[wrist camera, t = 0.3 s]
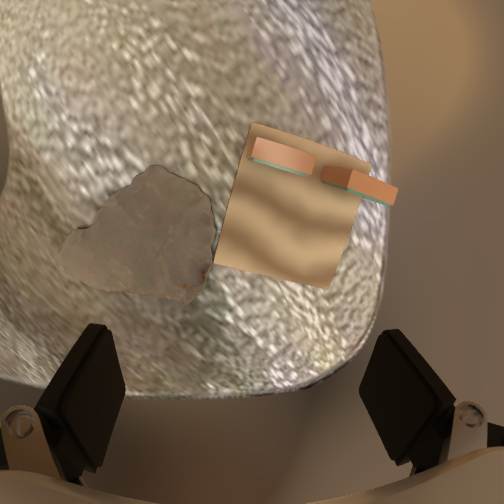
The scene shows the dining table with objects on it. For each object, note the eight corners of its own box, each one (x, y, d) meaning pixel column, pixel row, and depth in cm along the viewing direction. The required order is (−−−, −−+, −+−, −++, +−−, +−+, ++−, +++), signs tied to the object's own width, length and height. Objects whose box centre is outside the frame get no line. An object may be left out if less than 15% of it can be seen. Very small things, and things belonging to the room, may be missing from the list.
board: (251, 123, 34) (252, 122, 33) (368, 164, 36) (371, 164, 35) (213, 260, 39) (213, 263, 38) (326, 286, 42) (328, 289, 41)
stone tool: (203, 155, 36) (48, 197, 34) (202, 153, 33) (36, 200, 31) (229, 291, 41) (82, 313, 40) (230, 301, 38) (74, 323, 37)
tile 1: (250, 142, 33) (256, 136, 25) (296, 155, 34) (316, 155, 26) (245, 159, 34) (250, 159, 26) (291, 172, 35) (310, 178, 27)
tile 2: (324, 165, 35) (352, 169, 26) (363, 180, 36) (398, 188, 27) (319, 182, 36) (346, 190, 27) (358, 195, 37) (392, 208, 28)
